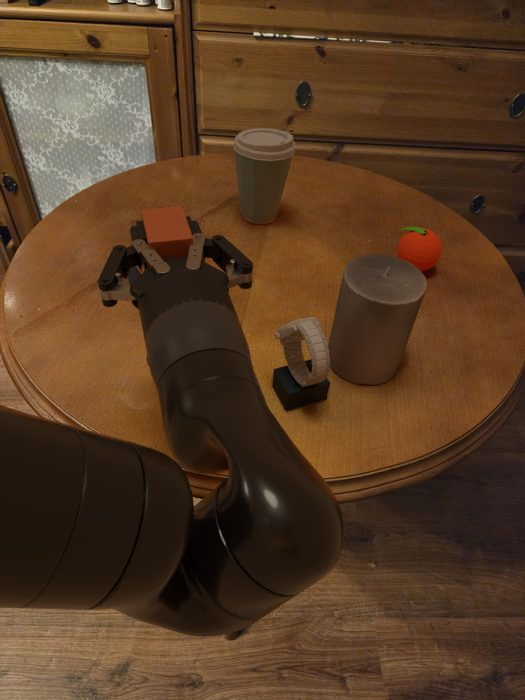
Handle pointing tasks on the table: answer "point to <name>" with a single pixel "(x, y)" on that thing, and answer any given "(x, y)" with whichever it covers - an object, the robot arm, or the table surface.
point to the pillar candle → (374, 317)
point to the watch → (302, 365)
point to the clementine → (420, 248)
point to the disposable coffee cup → (262, 171)
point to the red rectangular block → (167, 231)
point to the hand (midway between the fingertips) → (163, 227)
